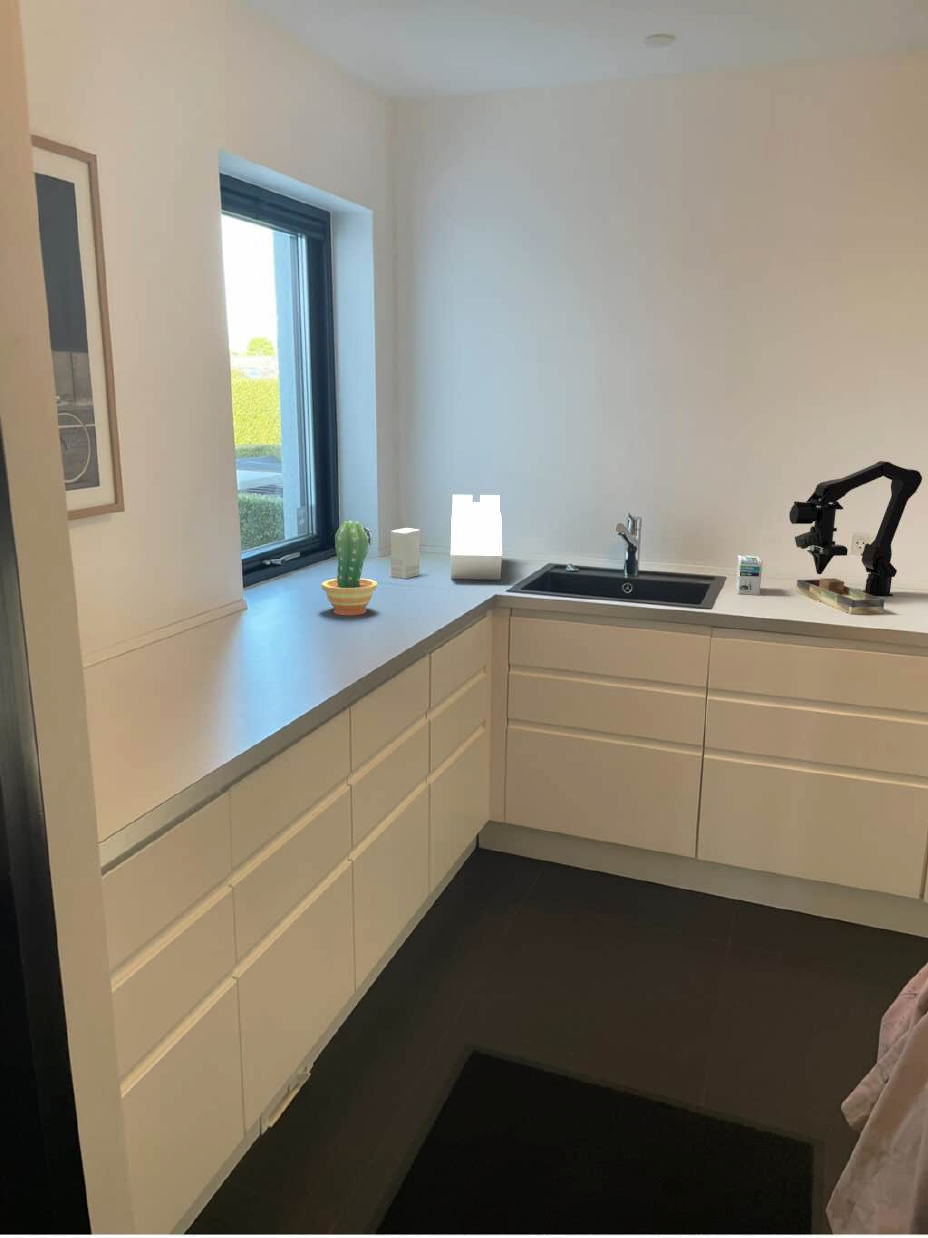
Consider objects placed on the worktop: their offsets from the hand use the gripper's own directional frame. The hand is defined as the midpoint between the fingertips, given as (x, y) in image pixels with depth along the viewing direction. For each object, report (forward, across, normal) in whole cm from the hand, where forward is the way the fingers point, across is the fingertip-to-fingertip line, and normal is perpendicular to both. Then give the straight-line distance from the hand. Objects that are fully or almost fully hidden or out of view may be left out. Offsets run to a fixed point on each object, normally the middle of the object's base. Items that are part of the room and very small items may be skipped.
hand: (819, 574), depth 286 cm
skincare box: (+6, -41, -124) cm, 131 cm away
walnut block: (+4, +8, 0) cm, 9 cm away
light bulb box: (+7, -6, -20) cm, 22 cm away
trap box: (+6, +12, 0) cm, 13 cm away
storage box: (+6, -46, -100) cm, 110 cm away
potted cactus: (+6, +8, -145) cm, 145 cm away
